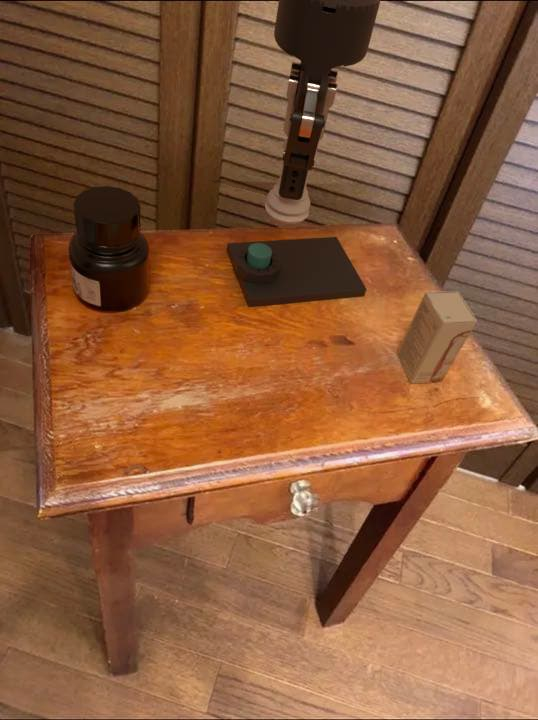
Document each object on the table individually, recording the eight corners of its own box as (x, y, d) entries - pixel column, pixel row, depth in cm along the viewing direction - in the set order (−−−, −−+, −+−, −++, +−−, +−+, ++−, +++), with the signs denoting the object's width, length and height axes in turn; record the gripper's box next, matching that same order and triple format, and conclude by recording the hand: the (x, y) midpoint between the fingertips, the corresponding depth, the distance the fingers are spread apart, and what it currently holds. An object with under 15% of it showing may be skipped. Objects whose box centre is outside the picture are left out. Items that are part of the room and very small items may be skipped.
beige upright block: (443, 382, 70) (479, 323, 62) (409, 384, 68) (442, 324, 61) (427, 350, 73) (459, 289, 65) (394, 351, 72) (424, 290, 64)
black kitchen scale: (244, 308, 72) (248, 290, 70) (223, 251, 79) (225, 233, 77) (363, 297, 78) (370, 279, 75) (334, 244, 84) (339, 227, 82)
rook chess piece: (257, 201, 59) (269, 126, 53) (297, 197, 60) (313, 123, 55) (274, 228, 56) (289, 152, 50) (315, 223, 58) (334, 149, 52)
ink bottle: (70, 264, 72) (60, 178, 64) (142, 260, 75) (142, 177, 66) (76, 320, 67) (66, 234, 58) (154, 313, 69) (156, 230, 60)
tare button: (250, 269, 73) (252, 258, 72) (243, 254, 75) (245, 243, 74) (272, 268, 74) (275, 257, 73) (265, 253, 76) (268, 242, 75)
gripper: (290, -55, 48) (260, 142, 61) (274, 3, 38) (243, 221, 51) (380, -36, 48) (331, 155, 61) (385, 26, 39) (327, 236, 52)
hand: (291, 184), depth 56 cm, fingers closed on rook chess piece, 3 cm apart
